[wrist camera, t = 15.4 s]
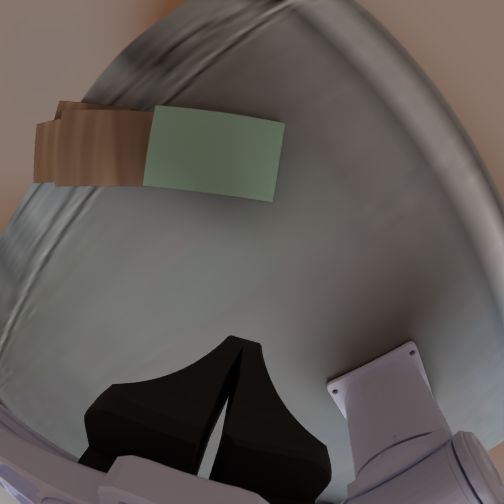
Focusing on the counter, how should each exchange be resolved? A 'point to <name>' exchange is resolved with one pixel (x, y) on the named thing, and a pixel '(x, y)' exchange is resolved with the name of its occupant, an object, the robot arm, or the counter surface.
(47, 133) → the walnut domino
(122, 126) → the walnut domino
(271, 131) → the green domino
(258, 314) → the counter surface
